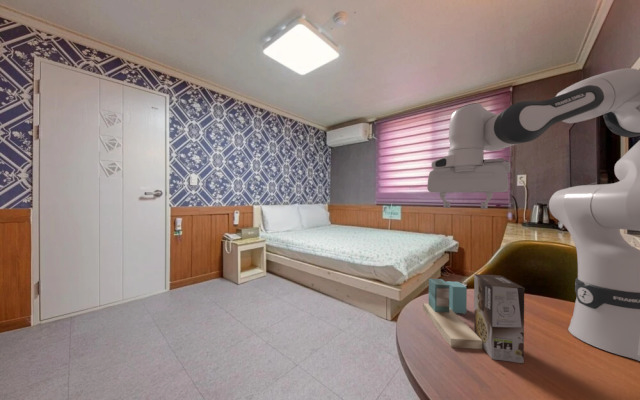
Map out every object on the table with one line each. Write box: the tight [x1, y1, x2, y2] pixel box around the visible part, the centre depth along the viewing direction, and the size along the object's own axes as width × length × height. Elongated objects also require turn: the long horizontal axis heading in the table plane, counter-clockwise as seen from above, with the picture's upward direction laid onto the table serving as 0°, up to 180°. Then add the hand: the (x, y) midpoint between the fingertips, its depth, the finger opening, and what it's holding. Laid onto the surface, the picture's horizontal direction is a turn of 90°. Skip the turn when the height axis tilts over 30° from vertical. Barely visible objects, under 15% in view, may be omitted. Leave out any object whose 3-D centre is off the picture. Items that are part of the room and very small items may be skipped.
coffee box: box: [473, 273, 526, 364], centre depth 55 cm, size 9×6×16 cm
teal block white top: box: [445, 281, 468, 314], centre depth 75 cm, size 4×6×8 cm
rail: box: [422, 278, 483, 350], centre depth 64 cm, size 7×19×10 cm, turn 175°
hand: (464, 208), depth 69 cm, fingers open, 8 cm apart
